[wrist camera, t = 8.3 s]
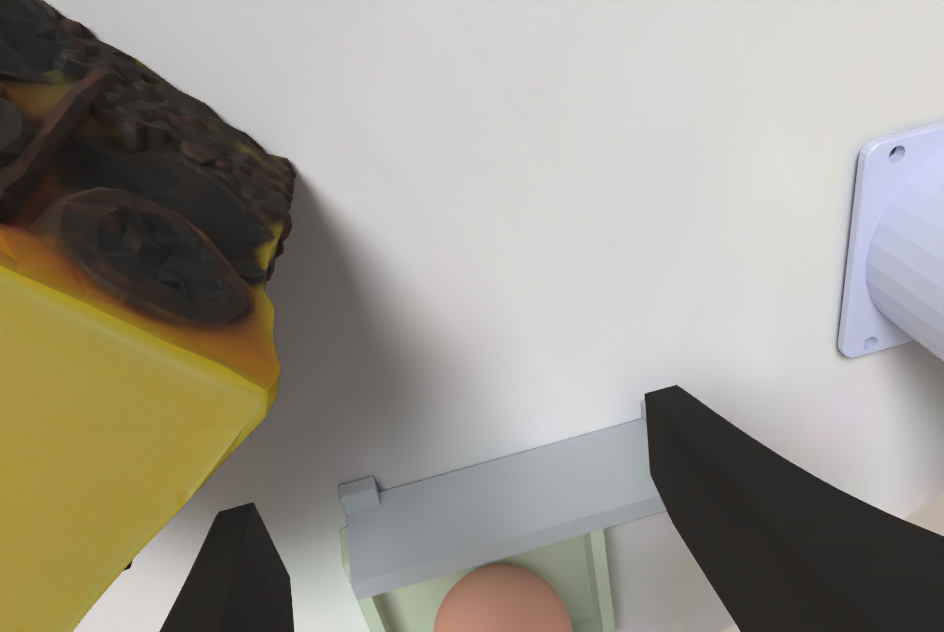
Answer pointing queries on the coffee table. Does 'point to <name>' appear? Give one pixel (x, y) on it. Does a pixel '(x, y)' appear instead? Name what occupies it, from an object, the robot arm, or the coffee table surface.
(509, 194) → the coffee table surface
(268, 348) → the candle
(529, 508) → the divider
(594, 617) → the tray
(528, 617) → the ball
